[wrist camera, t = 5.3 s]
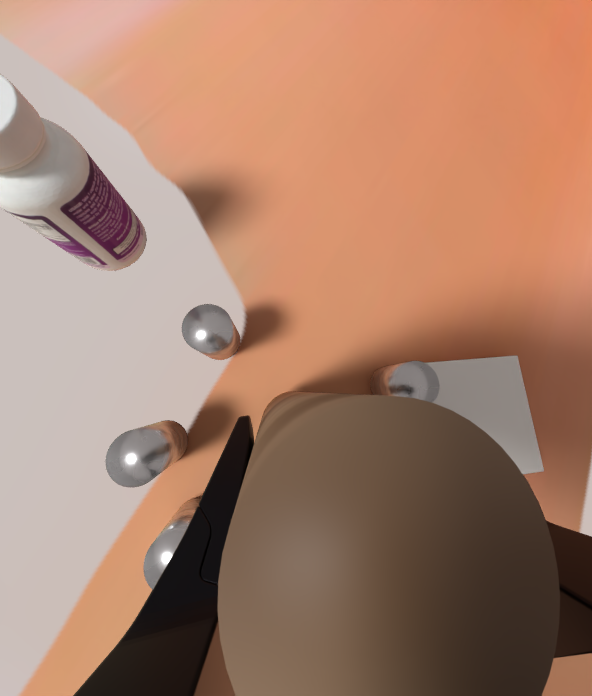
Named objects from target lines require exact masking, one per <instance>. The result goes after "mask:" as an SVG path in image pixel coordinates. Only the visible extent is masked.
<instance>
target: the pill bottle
mask: <svg viewBox="0 0 592 696" xmlns="http://www.w3.org/2000/svg"><path fill="white" fill-rule="evenodd" d="M0 208H2V209H4V210H5V211H7V212H8V213H10V214H11V215H12V216H14V217H16V218H17V219H19V220H20V221H22V222H23V223H25V224H26V225H28V226H29V227H31V228H32V229H34V230H35V231H36V232H38V233H39V234H41V235H43V236H44V237H45V238H47V239H49V240H50V241H52V242H53V243H55V244H56V245H58V246H59V247H61V248H62V249H64V250H65V251H66V252H68V253H70V254H71V255H73V256H74V257H75V258H77V259H78V260H80V261H82V262H83V263H85V264H86V265H88V266H91V267H92V268H95V269H99V270H108V271H110V270H118V269H122V268H125V267H128V266H130V265H131V264H132V263H134V262H135V261H136V260H137V259H138V258H139V257H140V256H141V254H142V253H143V251H144V249H145V245H146V241H147V239H146V232H145V229H144V227H143V225H142V223H141V221H140V220H139V219H138V217H137V216H136V215H135V213H134V212H133V211H132V209H131V208H130V207H129V206H128V204H127V203H126V202H125V200H124V199H123V198H122V197H121V195H120V194H119V193H118V192H117V190H116V189H115V188H114V187H113V185H112V184H111V183H110V181H109V180H108V179H107V178H106V176H105V175H104V174H103V172H102V171H101V170H100V169H99V167H98V166H97V165H96V164H95V162H94V161H93V160H92V158H91V157H90V156H89V155H88V153H87V152H86V151H85V149H84V148H83V147H82V145H81V144H80V143H79V142H78V141H77V140H76V139H75V138H74V137H73V136H72V135H71V134H70V133H68V132H67V131H66V130H64V129H63V128H62V127H60V126H58V125H57V124H55V123H53V122H51V121H49V120H46V119H44V118H40V116H39V114H38V113H37V111H36V110H35V109H34V107H33V106H32V105H31V104H30V103H29V102H28V101H27V100H26V99H25V97H24V96H23V95H22V94H21V93H20V92H19V91H18V90H17V89H16V88H15V86H14V85H13V84H12V83H11V82H10V81H9V80H8V79H6V78H5V77H4V76H3V75H1V74H0Z"/></svg>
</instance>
